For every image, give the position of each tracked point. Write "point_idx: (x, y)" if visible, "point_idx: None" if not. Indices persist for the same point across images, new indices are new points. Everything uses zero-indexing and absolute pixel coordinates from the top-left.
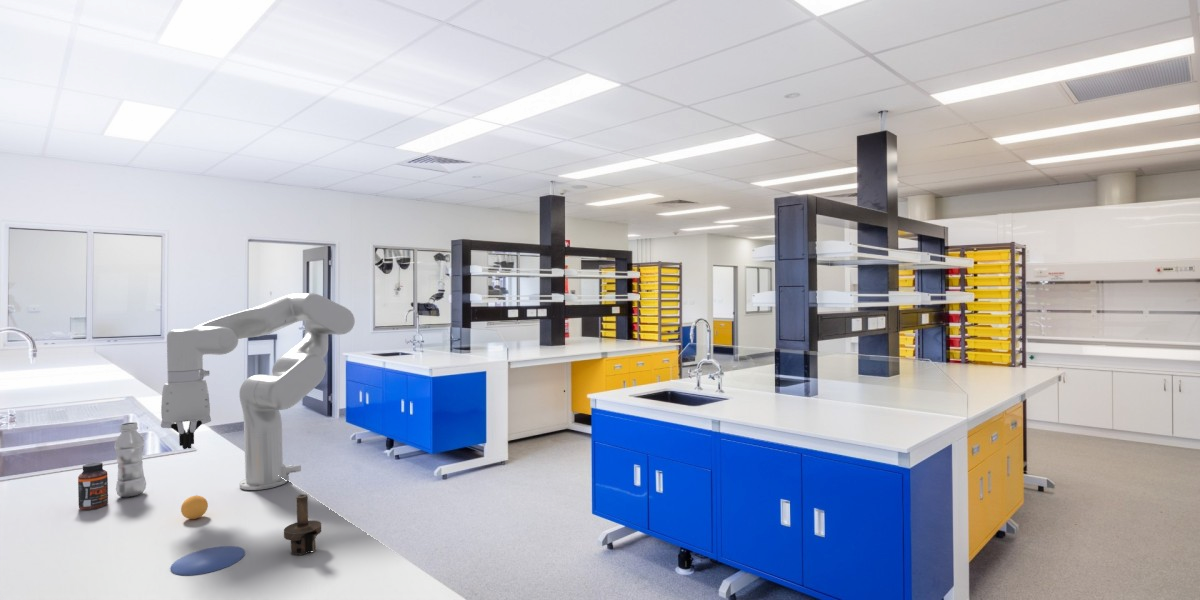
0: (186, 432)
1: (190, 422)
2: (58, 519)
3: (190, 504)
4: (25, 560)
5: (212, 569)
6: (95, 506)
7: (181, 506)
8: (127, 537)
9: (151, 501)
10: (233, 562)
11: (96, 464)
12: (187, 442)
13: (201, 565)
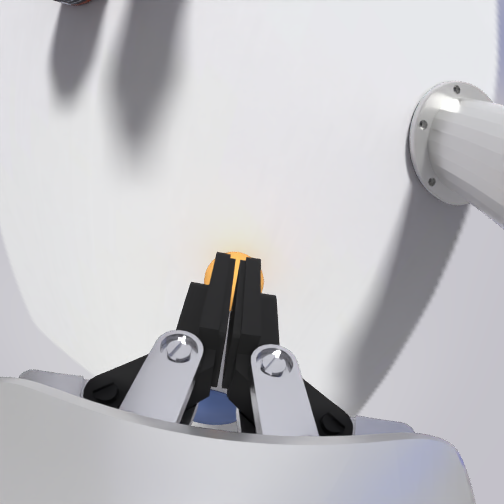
0: (231, 341)
1: (261, 430)
2: (31, 38)
3: None
4: (14, 245)
5: (203, 422)
6: (81, 3)
7: (205, 278)
8: (116, 267)
9: (194, 19)
10: (224, 423)
11: None
12: (229, 327)
13: (196, 412)
